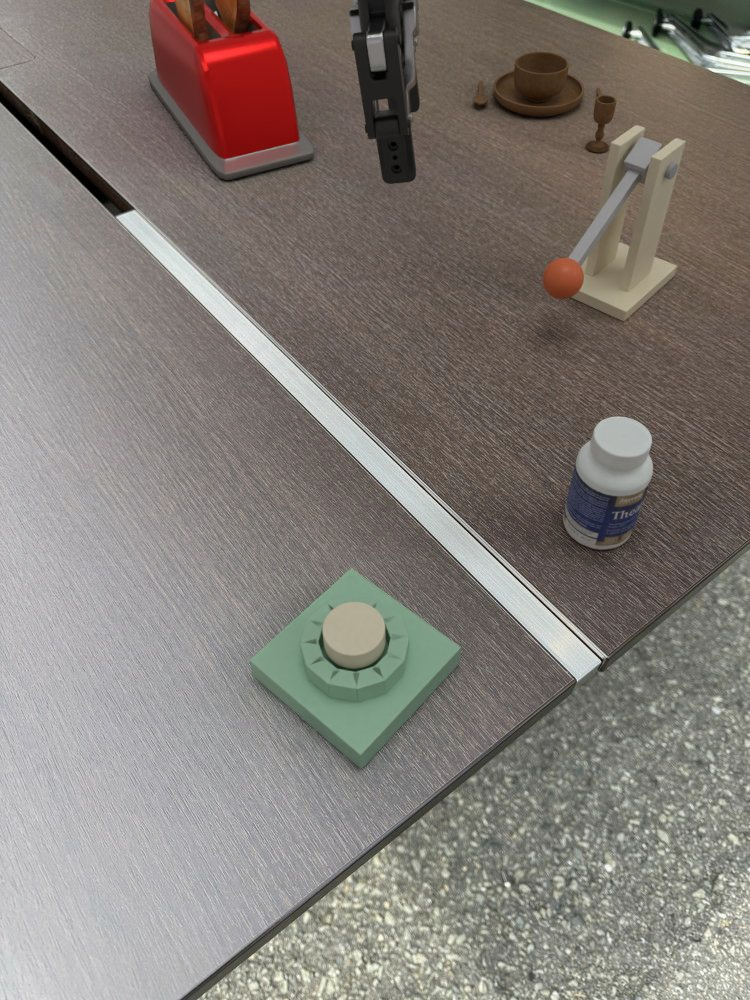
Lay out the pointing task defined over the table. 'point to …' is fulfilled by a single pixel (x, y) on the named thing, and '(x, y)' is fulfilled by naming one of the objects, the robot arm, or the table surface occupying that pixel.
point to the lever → (599, 224)
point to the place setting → (548, 92)
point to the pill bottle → (609, 483)
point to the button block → (356, 671)
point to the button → (354, 635)
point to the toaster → (226, 85)
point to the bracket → (632, 269)
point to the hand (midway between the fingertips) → (402, 143)
